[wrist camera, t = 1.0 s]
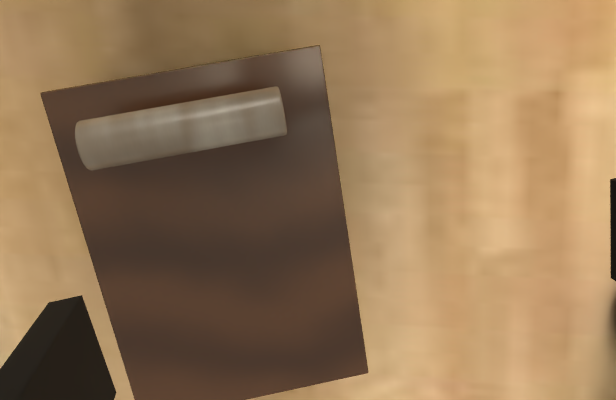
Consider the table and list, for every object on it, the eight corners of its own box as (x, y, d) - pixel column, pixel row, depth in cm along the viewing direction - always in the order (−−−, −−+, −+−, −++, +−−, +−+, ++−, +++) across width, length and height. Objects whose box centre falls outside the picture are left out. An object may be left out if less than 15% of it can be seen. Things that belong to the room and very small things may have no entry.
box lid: (45, 91, 25) (-11, 104, 19) (317, 45, 26) (339, 44, 20) (144, 413, 30) (122, 495, 25) (365, 365, 31) (392, 434, 25)
